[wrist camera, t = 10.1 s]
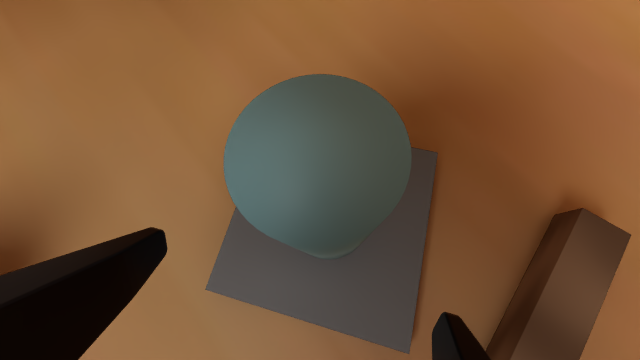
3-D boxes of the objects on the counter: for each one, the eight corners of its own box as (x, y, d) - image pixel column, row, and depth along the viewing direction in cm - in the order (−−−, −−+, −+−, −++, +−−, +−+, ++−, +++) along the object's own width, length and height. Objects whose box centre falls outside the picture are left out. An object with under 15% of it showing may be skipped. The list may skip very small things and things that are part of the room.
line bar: (472, 512, 12) (496, 556, 11) (425, 469, 13) (440, 504, 11) (596, 238, 16) (631, 234, 14) (555, 214, 17) (583, 207, 15)
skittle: (383, 237, 16) (450, 192, 6) (308, 274, 15) (262, 284, 6) (345, 168, 17) (355, 50, 8) (277, 200, 17) (201, 116, 8)
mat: (404, 348, 15) (409, 353, 14) (212, 288, 16) (205, 289, 16) (432, 158, 18) (437, 152, 17) (272, 125, 20) (268, 118, 19)
